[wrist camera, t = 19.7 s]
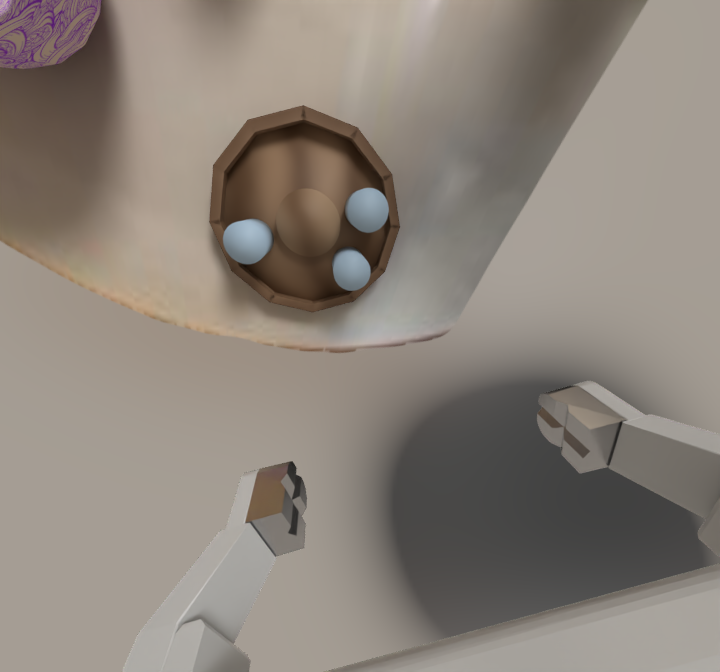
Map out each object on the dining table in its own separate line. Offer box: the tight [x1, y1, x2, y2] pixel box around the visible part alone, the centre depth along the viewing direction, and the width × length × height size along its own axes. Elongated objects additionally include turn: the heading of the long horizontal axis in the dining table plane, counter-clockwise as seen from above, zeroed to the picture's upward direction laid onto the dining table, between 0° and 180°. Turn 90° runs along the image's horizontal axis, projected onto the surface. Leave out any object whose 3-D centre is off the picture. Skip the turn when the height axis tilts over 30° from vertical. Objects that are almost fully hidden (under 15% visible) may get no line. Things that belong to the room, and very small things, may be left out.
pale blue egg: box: [332, 247, 371, 291], centre depth 31 cm, size 4×4×5 cm
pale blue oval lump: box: [223, 219, 274, 264], centre depth 29 cm, size 4×4×5 cm
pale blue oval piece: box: [345, 188, 389, 233], centre depth 29 cm, size 4×4×5 cm
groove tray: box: [209, 105, 400, 312], centre depth 31 cm, size 20×20×2 cm
